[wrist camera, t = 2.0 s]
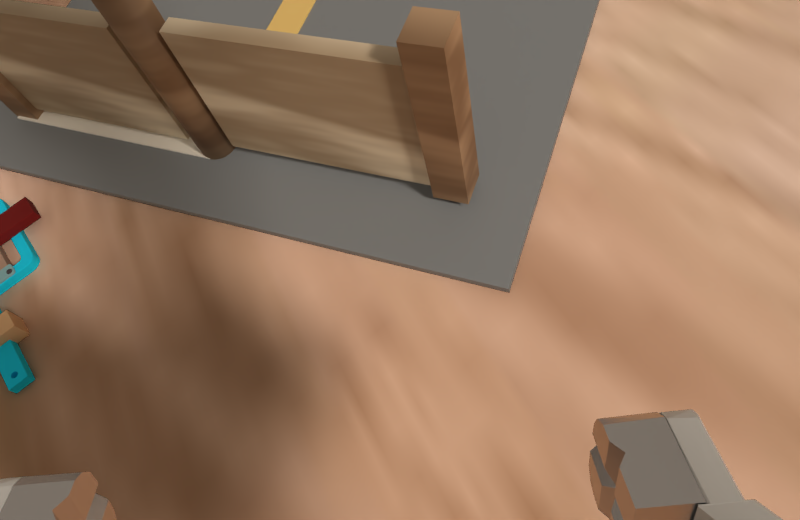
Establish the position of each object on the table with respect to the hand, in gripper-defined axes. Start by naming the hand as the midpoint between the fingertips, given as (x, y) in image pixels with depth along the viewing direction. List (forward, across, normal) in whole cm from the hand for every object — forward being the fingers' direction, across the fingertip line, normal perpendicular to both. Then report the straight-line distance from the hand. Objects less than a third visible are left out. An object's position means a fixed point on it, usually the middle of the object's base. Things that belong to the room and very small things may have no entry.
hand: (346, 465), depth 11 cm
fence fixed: (+35, +16, +8) cm, 39 cm away
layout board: (+37, +6, +6) cm, 38 cm away
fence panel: (+27, +1, +9) cm, 28 cm away
